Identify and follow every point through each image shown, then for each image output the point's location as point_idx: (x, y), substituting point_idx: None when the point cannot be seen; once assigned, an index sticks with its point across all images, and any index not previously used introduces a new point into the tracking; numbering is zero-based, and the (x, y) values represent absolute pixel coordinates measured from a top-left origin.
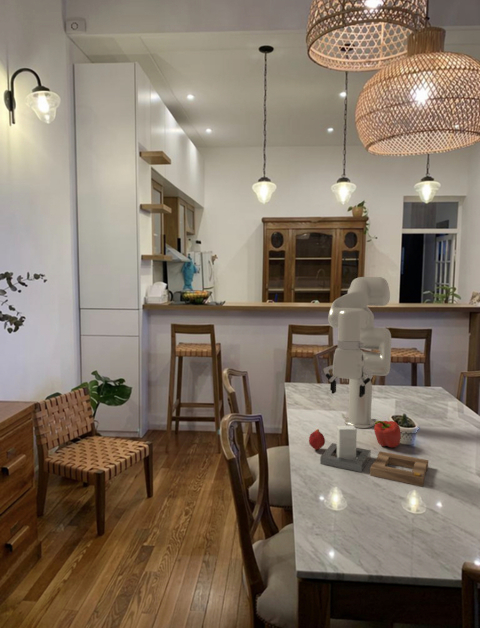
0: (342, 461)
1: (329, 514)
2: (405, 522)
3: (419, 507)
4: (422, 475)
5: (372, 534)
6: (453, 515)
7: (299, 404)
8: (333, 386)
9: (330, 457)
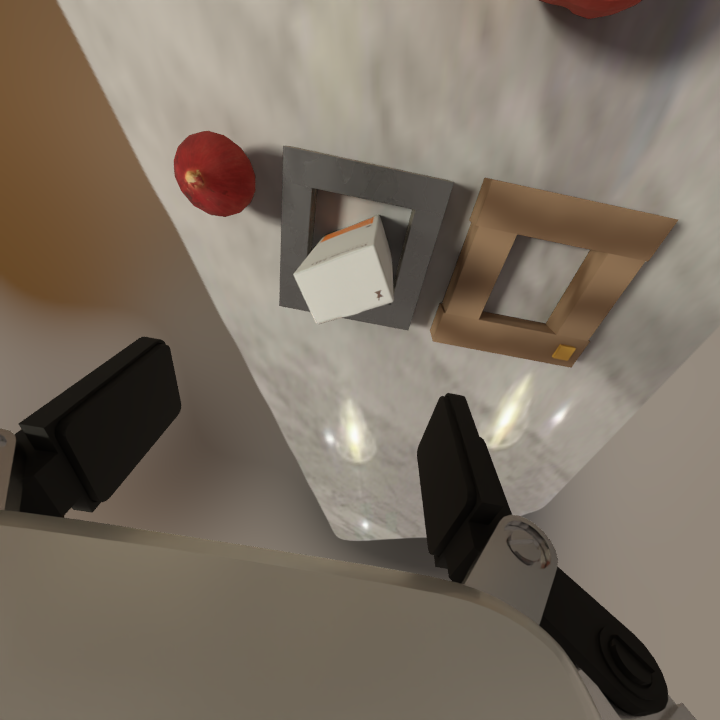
0: (350, 318)
1: (351, 472)
2: None
3: (511, 432)
4: (578, 350)
5: (414, 497)
6: (567, 443)
7: None
8: (132, 465)
9: None
